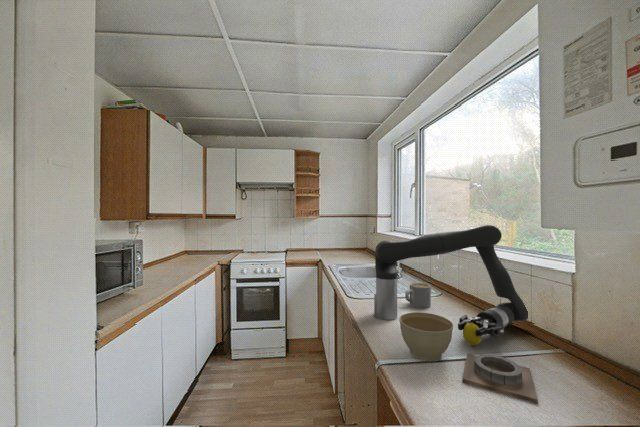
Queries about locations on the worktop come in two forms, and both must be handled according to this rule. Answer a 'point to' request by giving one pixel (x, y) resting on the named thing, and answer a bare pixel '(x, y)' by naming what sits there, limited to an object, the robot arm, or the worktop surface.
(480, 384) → the stand
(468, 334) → the lemon
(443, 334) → the planter bowl
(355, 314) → the worktop surface
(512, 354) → the worktop surface
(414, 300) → the coffee mug
